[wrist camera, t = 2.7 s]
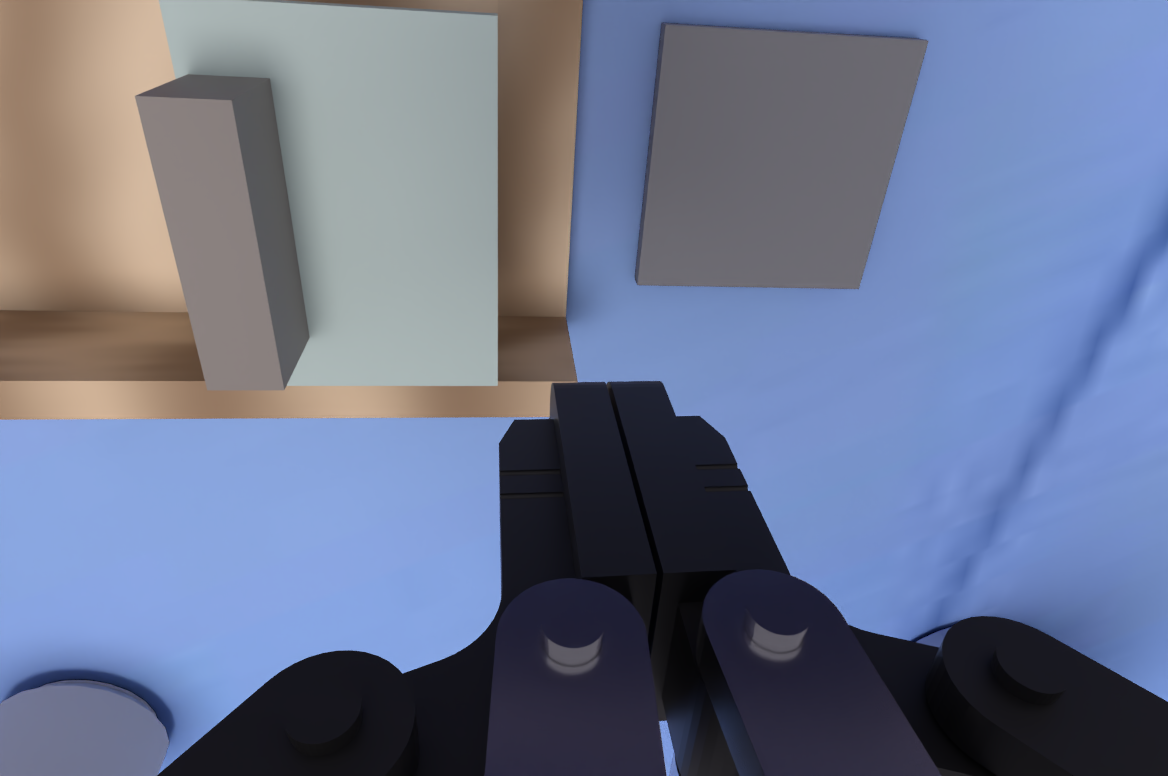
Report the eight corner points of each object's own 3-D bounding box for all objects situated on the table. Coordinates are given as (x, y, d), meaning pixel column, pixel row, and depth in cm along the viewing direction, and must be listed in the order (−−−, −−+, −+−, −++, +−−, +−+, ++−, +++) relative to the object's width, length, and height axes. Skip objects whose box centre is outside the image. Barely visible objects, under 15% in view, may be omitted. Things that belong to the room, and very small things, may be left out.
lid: (497, 13, 15) (497, 27, 12) (497, 374, 20) (497, 440, 17) (169, -7, 14) (95, 3, 12) (248, 373, 19) (208, 442, 16)
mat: (918, 38, 22) (928, 40, 21) (851, 282, 26) (858, 289, 26) (661, 22, 21) (665, 24, 20) (634, 278, 25) (637, 285, 25)
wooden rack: (580, -65, 20) (607, -69, 15) (560, 328, 26) (575, 416, 21) (-246, -127, 17) (-536, -156, 12) (-49, 322, 23) (-191, 420, 19)
